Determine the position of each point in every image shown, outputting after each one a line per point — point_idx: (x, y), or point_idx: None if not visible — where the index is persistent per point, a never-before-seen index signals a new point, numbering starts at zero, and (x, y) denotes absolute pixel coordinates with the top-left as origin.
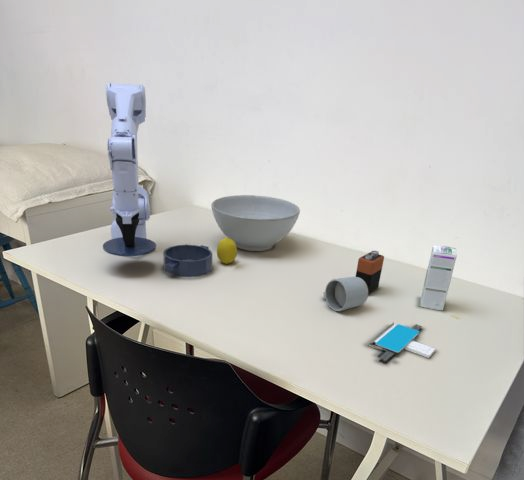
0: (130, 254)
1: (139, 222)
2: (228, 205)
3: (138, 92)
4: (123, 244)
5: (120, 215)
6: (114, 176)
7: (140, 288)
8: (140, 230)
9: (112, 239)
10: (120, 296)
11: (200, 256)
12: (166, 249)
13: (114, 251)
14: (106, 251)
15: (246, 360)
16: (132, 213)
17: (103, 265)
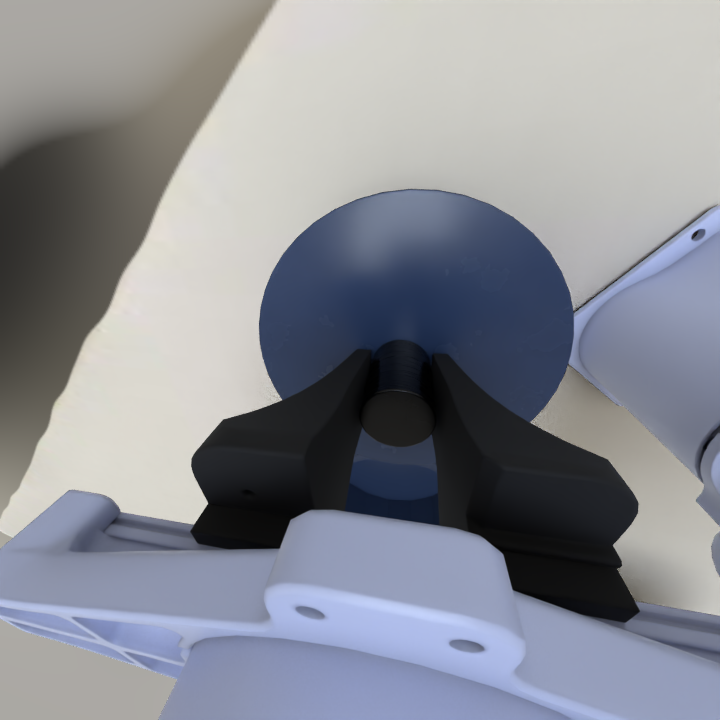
0: (264, 359)
1: (714, 485)
2: None
3: None
4: (417, 334)
5: (90, 562)
6: None
7: (250, 332)
8: (664, 440)
9: (544, 262)
10: (178, 269)
11: (437, 510)
12: (433, 468)
13: (293, 281)
14: (311, 226)
15: (37, 454)
16: (126, 660)
17: (496, 174)
